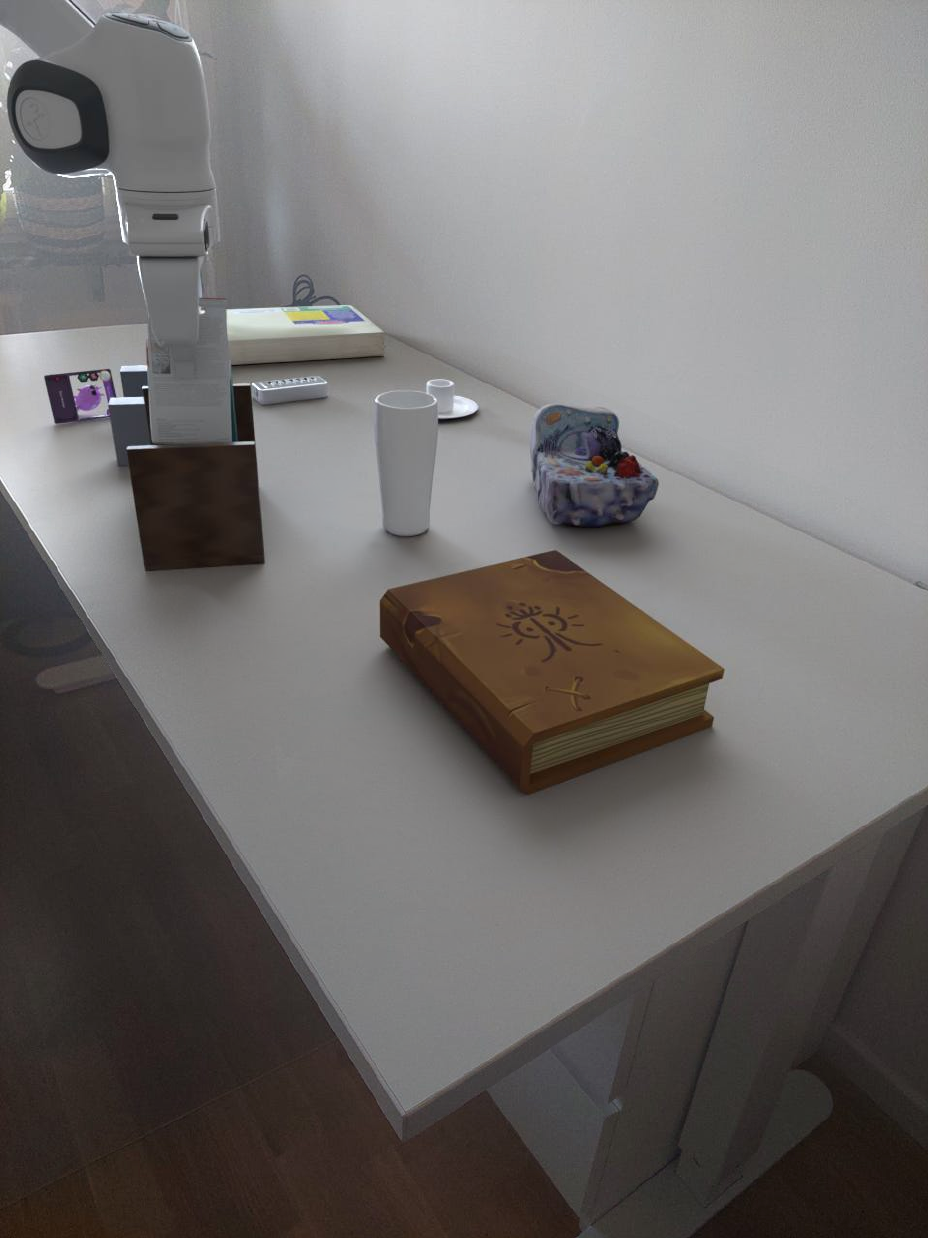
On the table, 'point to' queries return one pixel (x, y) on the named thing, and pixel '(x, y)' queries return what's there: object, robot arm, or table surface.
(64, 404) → the purple monster box
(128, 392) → the grey u-shaped block
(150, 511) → the book rack
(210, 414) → the ink box
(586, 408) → the cell model
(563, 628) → the diary
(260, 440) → the table surface
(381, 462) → the drinking glass
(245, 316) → the puzzle box
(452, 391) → the candle holder
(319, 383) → the multiport hub
